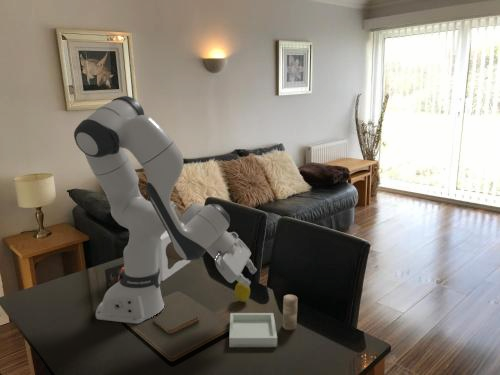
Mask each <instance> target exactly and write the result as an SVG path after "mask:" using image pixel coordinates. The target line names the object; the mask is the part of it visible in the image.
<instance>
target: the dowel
mask: <svg viewBox="0 0 500 375" xmlns="http://www.w3.org/2000/svg"><path fill="white" fill-rule="evenodd" d="M298 300H299V298H298V297H297V296H296V295H294V294H286V295H284V296H283V302H282V303H283V304H282V305H283V306H282V328H283V329H284V330H286V331H294V330H296V329H297V326H298V325H297V324H298V323H297V321H298V320H297V319H298V318H297V317H298Z"/></svg>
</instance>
